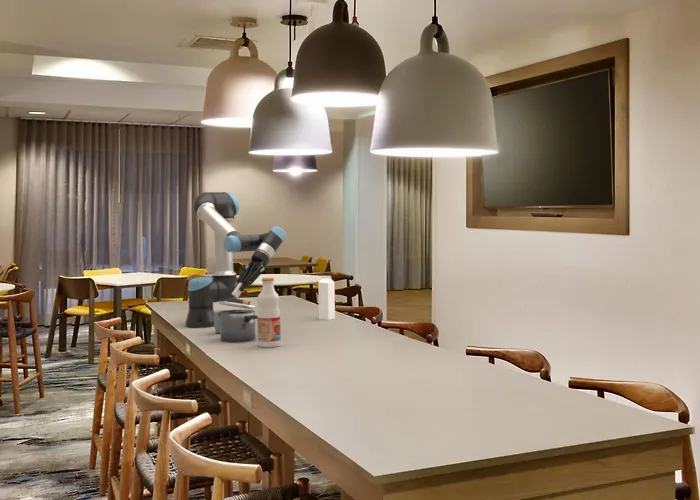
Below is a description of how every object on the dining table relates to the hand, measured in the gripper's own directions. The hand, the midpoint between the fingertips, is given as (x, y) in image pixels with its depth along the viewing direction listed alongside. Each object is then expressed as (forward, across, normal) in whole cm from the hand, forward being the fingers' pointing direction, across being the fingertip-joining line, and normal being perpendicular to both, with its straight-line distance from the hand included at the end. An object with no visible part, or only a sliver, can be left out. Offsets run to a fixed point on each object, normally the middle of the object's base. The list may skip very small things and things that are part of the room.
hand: (234, 296), depth 330 cm
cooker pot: (+12, 0, -15) cm, 19 cm away
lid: (+2, 0, -5) cm, 5 cm away
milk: (-35, +10, -62) cm, 72 cm away
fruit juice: (+14, -22, -14) cm, 29 cm away
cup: (+7, +19, -20) cm, 28 cm away
